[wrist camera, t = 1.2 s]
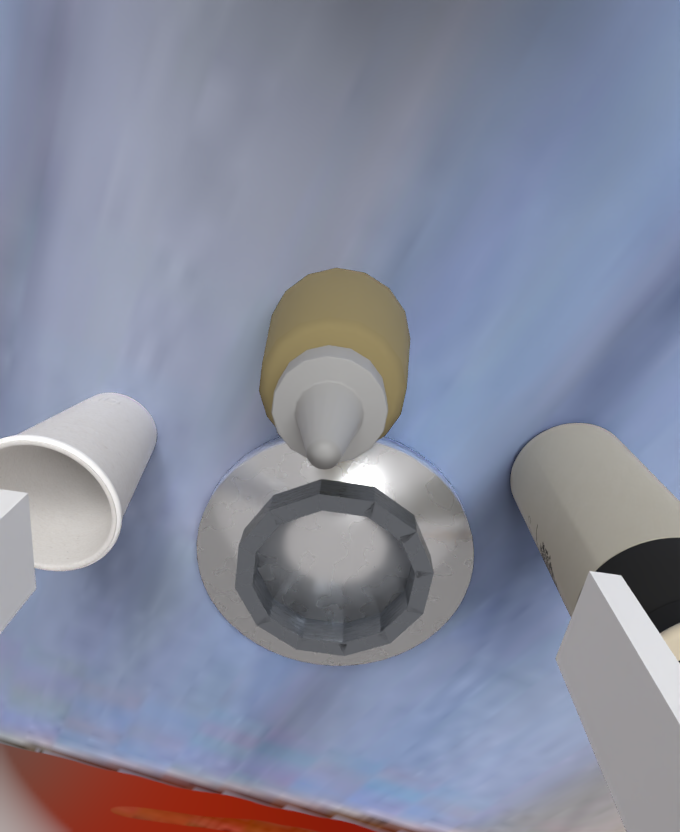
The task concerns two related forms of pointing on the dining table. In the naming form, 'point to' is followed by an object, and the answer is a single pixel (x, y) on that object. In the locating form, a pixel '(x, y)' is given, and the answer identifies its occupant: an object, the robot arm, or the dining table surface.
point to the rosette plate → (335, 552)
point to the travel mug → (601, 519)
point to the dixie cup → (79, 476)
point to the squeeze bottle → (335, 365)
